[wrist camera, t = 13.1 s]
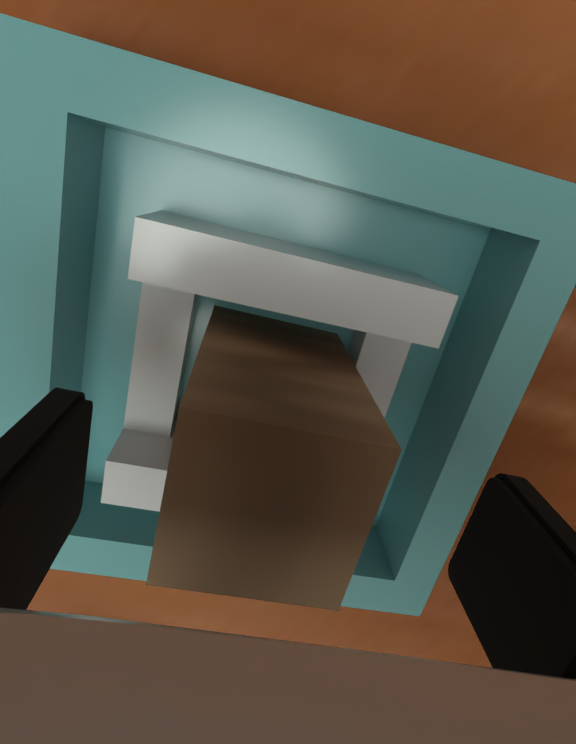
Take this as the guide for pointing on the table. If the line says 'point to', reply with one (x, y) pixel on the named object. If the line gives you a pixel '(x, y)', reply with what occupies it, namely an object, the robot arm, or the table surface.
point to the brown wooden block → (271, 466)
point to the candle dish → (280, 186)
